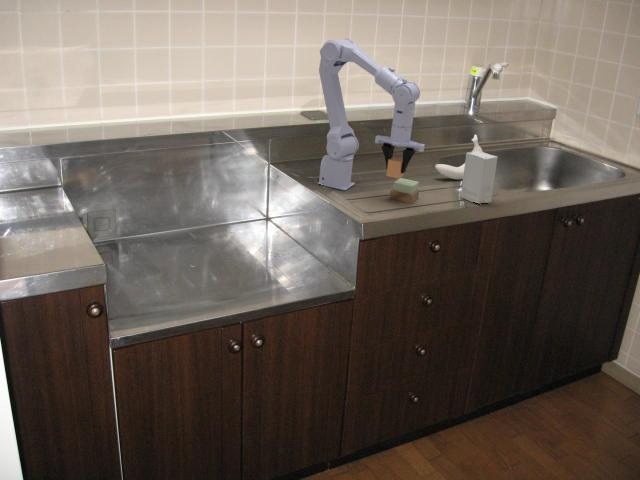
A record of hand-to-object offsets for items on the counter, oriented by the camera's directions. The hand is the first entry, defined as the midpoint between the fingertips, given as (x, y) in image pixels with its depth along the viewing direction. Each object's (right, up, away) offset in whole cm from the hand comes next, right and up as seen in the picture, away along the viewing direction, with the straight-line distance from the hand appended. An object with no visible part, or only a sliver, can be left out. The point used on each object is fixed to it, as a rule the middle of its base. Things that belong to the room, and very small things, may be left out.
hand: (395, 170), depth 208 cm
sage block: (+4, -5, +6) cm, 9 cm away
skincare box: (+26, -8, +12) cm, 30 cm away
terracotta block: (0, -1, 0) cm, 2 cm away
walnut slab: (+3, -8, +7) cm, 11 cm away
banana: (+24, 0, +32) cm, 40 cm away
